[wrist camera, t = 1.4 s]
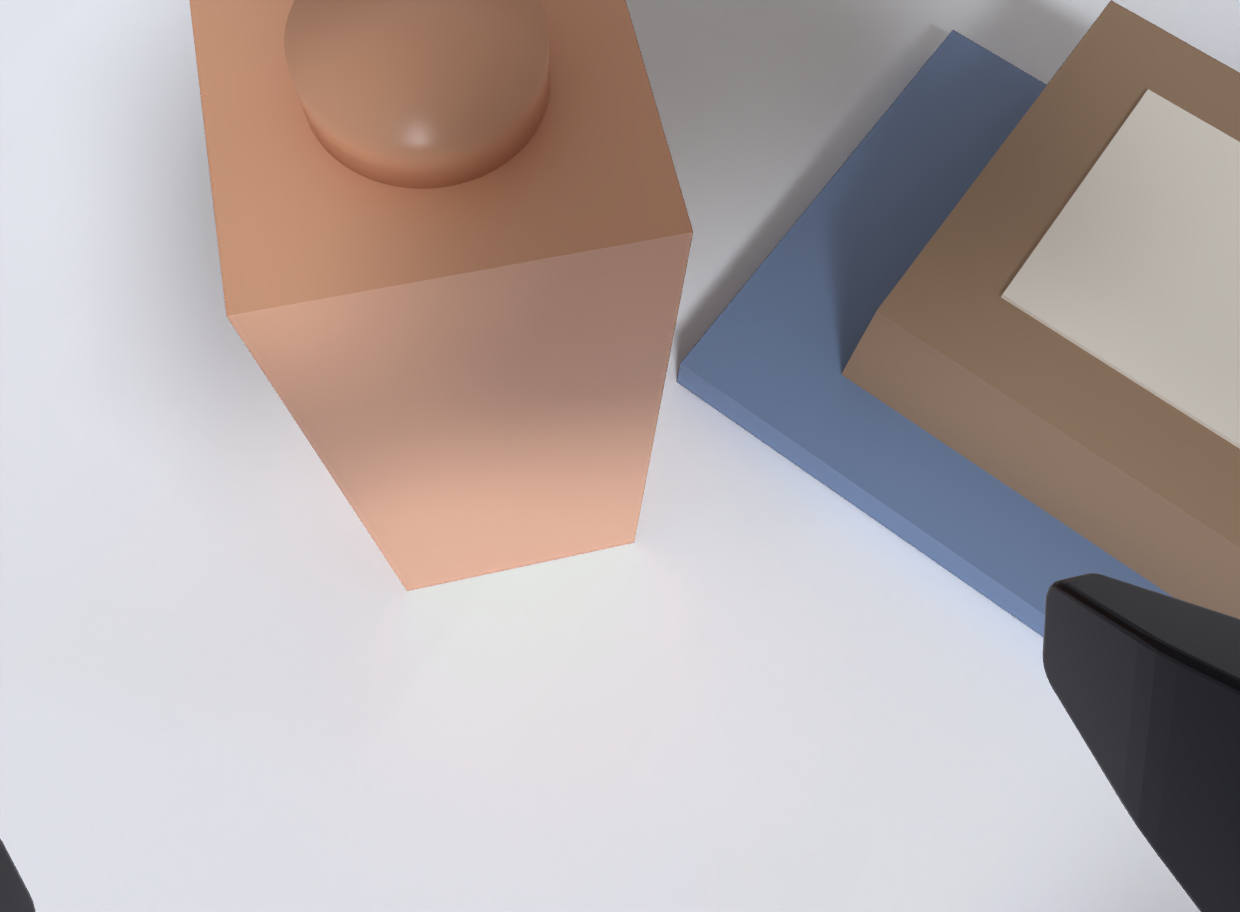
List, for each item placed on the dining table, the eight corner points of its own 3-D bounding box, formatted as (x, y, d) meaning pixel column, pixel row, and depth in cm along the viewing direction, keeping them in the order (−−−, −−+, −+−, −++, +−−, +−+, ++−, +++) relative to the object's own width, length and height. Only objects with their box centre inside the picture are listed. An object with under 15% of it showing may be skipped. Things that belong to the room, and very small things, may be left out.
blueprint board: (1674, 494, 25) (1879, 427, 21) (1492, 949, 21) (1697, 971, 17) (940, 57, 28) (998, -68, 24) (676, 381, 25) (695, 295, 21)
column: (634, 542, 23) (700, 188, 11) (407, 590, 23) (200, 276, 10) (585, 341, 25) (594, -167, 12) (372, 382, 24) (159, -108, 12)
